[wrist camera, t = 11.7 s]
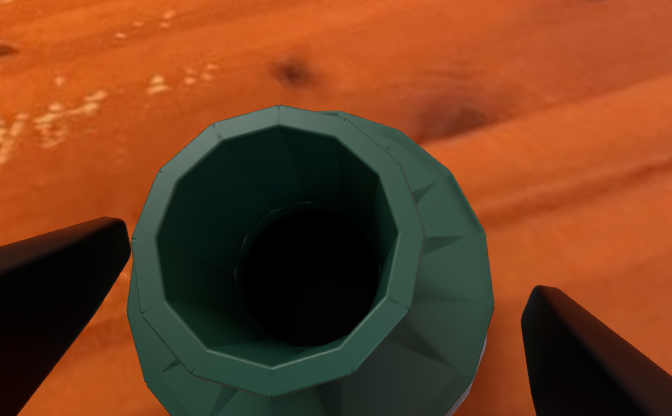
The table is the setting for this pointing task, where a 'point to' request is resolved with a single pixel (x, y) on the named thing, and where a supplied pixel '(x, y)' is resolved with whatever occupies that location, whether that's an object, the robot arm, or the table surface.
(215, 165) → the ink bottle
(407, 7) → the table surface
